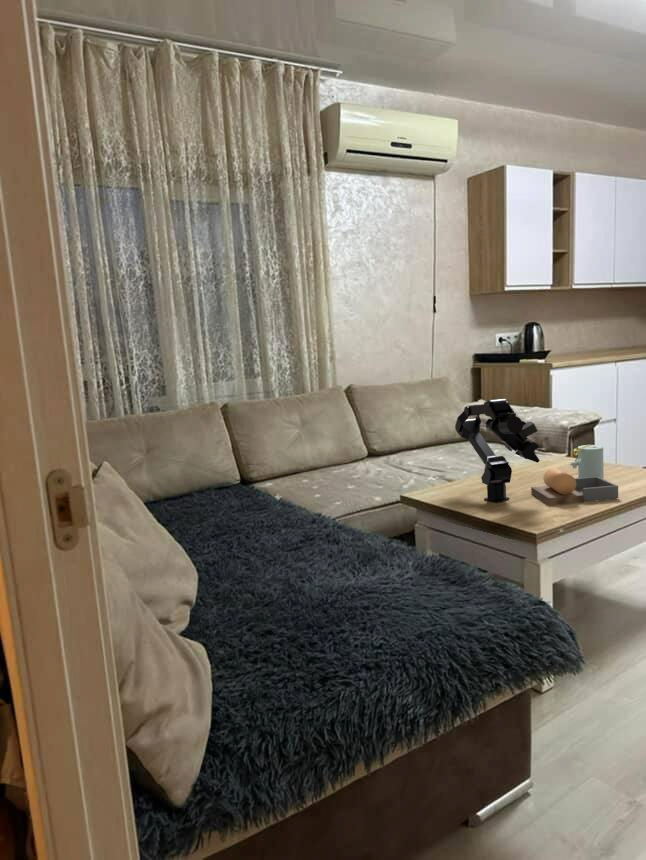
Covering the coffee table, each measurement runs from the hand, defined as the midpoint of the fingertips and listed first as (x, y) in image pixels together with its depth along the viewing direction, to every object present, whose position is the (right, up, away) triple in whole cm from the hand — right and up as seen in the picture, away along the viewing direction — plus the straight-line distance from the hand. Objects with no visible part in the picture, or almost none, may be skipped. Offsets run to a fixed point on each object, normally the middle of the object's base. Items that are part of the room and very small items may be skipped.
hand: (538, 461), depth 212 cm
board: (+7, -13, +2) cm, 15 cm away
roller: (+8, -7, +1) cm, 10 cm away
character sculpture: (+27, -9, +22) cm, 36 cm away
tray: (+19, -12, +2) cm, 23 cm away
